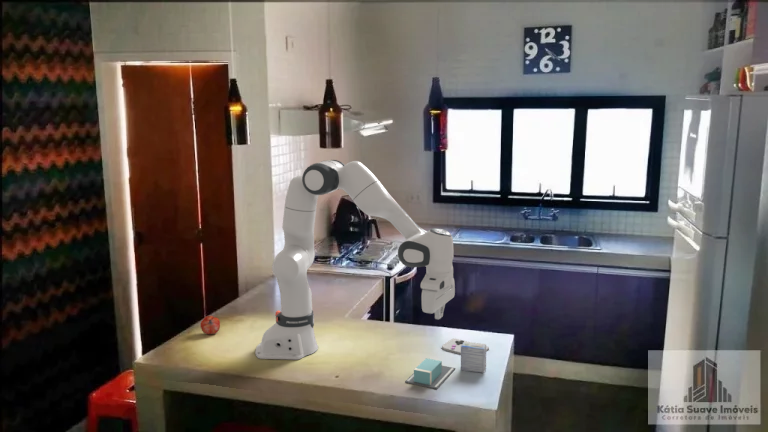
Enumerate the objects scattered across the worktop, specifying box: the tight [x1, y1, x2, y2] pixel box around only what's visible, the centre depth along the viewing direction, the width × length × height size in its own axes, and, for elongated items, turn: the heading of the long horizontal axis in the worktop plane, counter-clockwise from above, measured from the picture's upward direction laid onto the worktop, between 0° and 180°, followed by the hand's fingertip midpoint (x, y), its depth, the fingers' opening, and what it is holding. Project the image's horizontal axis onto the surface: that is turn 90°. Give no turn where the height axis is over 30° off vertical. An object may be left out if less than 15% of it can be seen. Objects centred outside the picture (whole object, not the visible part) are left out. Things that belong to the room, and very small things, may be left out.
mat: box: [404, 365, 456, 390], centre depth 199 cm, size 16×11×1 cm
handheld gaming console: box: [441, 337, 490, 355], centre depth 220 cm, size 10×2×15 cm
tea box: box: [413, 357, 443, 385], centre depth 197 cm, size 4×6×10 cm
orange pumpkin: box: [199, 315, 221, 335], centre depth 239 cm, size 7×7×10 cm
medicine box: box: [460, 341, 487, 374], centre depth 203 cm, size 8×4×9 cm, turn 71°
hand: (438, 317), depth 203 cm, fingers closed
